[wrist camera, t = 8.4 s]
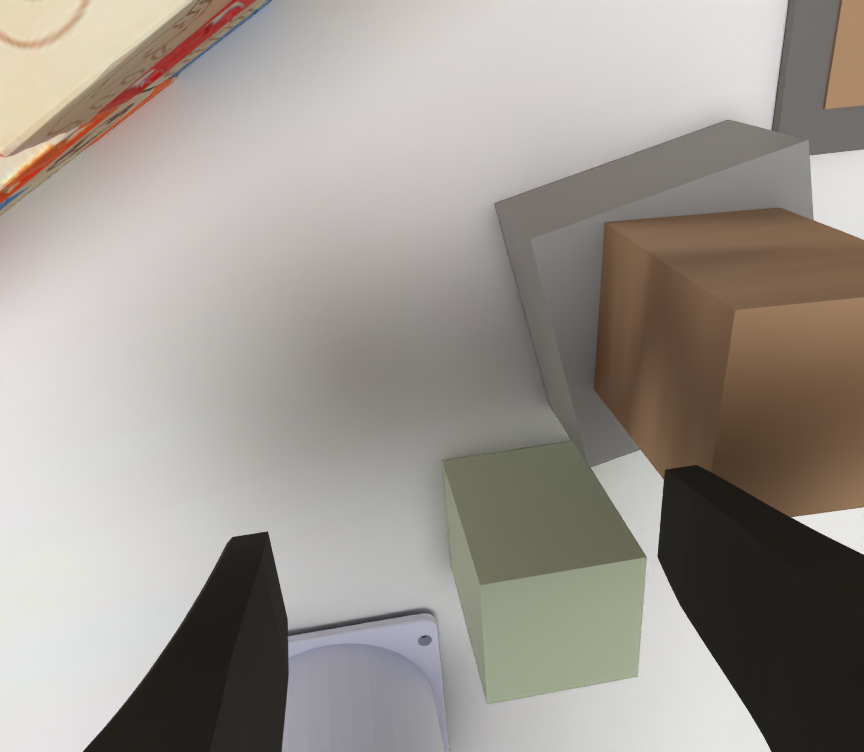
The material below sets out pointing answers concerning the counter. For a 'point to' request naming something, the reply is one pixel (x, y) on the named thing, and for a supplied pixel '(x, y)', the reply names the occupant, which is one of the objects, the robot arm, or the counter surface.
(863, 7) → the card
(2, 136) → the stack of blocks
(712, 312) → the walnut block
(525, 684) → the sage block
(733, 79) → the counter surface
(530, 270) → the slate base block
